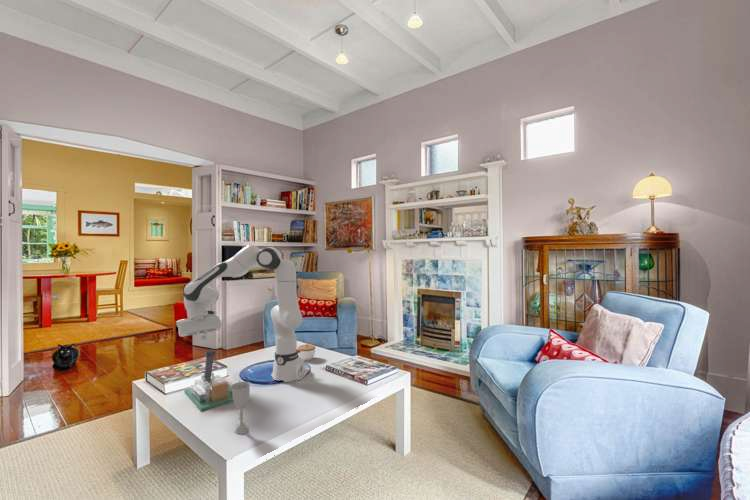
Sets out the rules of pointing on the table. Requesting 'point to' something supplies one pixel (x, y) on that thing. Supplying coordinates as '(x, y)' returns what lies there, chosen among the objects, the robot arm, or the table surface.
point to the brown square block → (219, 391)
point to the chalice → (241, 402)
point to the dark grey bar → (209, 363)
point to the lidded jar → (307, 352)
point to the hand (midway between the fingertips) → (203, 339)
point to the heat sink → (207, 387)
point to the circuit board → (207, 405)
